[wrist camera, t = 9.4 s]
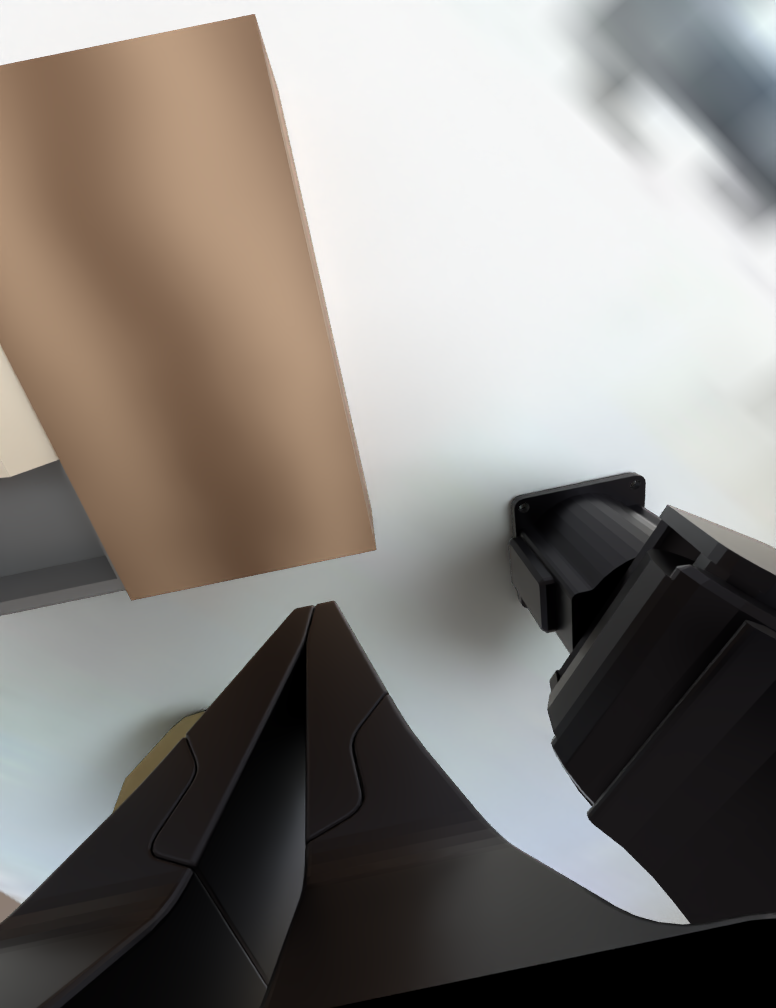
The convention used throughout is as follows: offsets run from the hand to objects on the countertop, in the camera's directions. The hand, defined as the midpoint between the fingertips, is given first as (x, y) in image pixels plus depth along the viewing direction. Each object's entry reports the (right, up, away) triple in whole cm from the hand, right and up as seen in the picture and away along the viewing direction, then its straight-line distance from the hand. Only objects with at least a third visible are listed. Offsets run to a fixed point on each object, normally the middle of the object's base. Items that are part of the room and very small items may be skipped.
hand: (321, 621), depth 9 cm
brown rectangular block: (-6, +8, +9) cm, 14 cm away
